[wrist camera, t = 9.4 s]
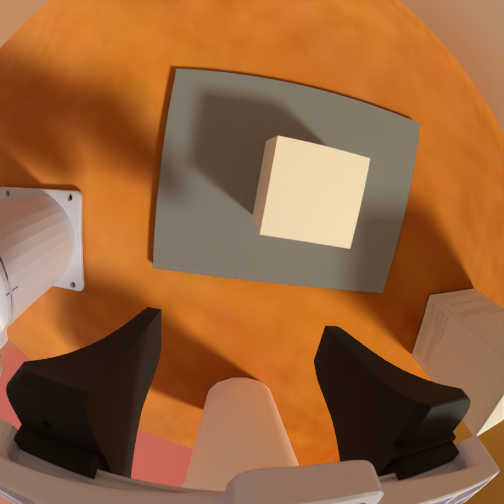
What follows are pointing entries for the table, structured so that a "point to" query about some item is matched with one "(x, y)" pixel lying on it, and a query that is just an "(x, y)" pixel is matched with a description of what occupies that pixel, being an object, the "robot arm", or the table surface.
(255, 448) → the foam cup
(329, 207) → the cream cube
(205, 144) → the charcoal mat
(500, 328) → the supplement box
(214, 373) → the table surface
